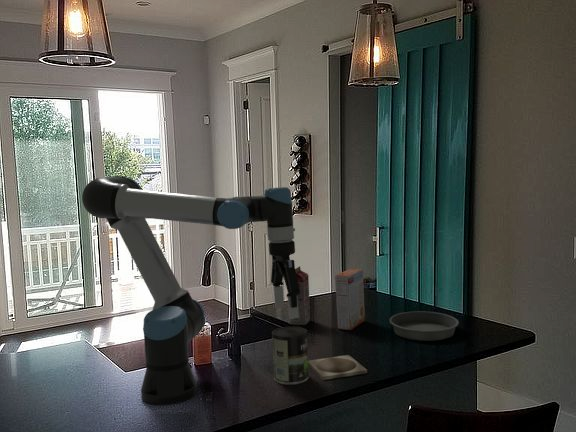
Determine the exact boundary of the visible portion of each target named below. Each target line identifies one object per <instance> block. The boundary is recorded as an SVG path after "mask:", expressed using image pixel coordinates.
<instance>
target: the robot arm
mask: <svg viewBox="0 0 576 432" xmlns="http://www.w3.org/2000/svg"><path fill="white" fill-rule="evenodd" d="M81 201H82V205H83V207H84V209H85V211H86V212H87V213H89V214H90V215H91V216H93V217H94V218H95V217H96V218H98V219H106V221H107V223H108V225H109V228H111V229H114V230H116V231H118V233H119V234H120V236H121V239H122V241H123V243H124V244H125V246H126V248H127V250H128V253H129V254H130V256H131V258H132V260H133V262H134V263H135V265H136V267H137V269H138V271H139V273H140V276H141V278H142V279H143V282H144V283H145V285H146V287H147V289H148V291H149V292H150V295H151V297H152V299H153V302H154V304H153V307H152V310H150V311H149V312H147V313H146V314H145V316H144V318H143V326H142V332H143V340H144V352H145V353H144V354H145V355H144V356H145V367H146V368H145V373H144V377H143V380H142V385H141V388H140V390H141V392H140V393H141V394H140V395H141V399H142V401H143V402H145V403H147V404H150V405H155V406H156V405H157V406H158V405H159V406H166V405H168V406H169V405H173V404H178V403H181V402H185V401H188V400H189V399H191V398H192V397H194V396H195V395H196V393H197V391H198V387H197V385H198V384H197V381H196V377H195V376H194V373H193V370H192V368H191V366H190V361H189V359H190V357H189V343H190V342H191V341H192V340H193V339H194V338H196V337H197V336H198V335H199V334H200V333H201V331H202V329H203V327H204V324H205V321H206V315H205V310H204V308H203V306H202V304H200V303H199V302H198V301H197V300H195V299H193V297H192V296H191V294H190V292H189V290H187V289H184V288H182V287H181V285H180V284H179V282H178V279H177V277H176V275H175V274H174V272H173V270H172V268H171V265H170V264H169V262H168V261H167V259H166V257H165V255H164V252H163V251H162V249H161V246H160V245H159V243H158V240H157V239H156V237H155V235H154V233H153V232H152V229H151V227H150V225H149V223H148V221H147V219H153V220H160V221H161V220H163V221H173V222H182V223H191V224H192V223H193V224H200V225H201V224H202V225H210V226H211V225H212V226H219V227H224V228H225V229H228V230H237V229H240V228H242V227H243V226H245V225H246V224H248V223H258V222H260V223H261V222H266V224H267V225H266V227H267V240H268V241H269V243H268V251H269V255H270V256H271V260H272V261H271V262H272V263H271V274H270V275H271V276H270V283H271V284H272V286H273V294H274V295H273V296H274V307H275V309H281V308H282V309H283V308H285V299H284V284H285V288H286V290H287V294H286V297H287V306H288V307H287V308H288V309H287V310H288V320H289V319H295V318H299V311H298V297H297V295H298V294H300V289H299V285H298V280H297V275H296V271H295V269H296V266H295V260H294V259H291V258H290V256H291V255H294V254H295V253H296V246H295V245H296V243H295V241H294V239H295V233H294V232H295V231H296V228H295V227H294V215H293V213H294V212H293V201H292V193H291V189H290V188H289V187H288V186H287V187H286V186H282V187H280V186H279V187H270V188H269V187H268V188H265V190H264V194H262V195H256V196H253V195H251V196H234V197H227V198H225V197H216V196H215V197H214V196H206V195H205V196H204V195H195V194H194V195H193V194H187V193H185V194H184V193H175V192H166V191H157V190H148V189H147V190H146V189H142V187H141V185H140V184H139V183H138V181H136V180H135V179H133V178H130V177H127V176H123V175H116V176H107V177H106V176H105V177H104V176H103V177H98V178H94V179H93V180H91V181H89V182H88V183H87V184H86V185H85V187H84V188H83V191H82V195H81ZM283 280H284V281H283Z"/></svg>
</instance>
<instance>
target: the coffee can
mask: <svg viewBox="0 0 576 432" xmlns="http://www.w3.org/2000/svg"><path fill="white" fill-rule="evenodd" d="M271 336H272V354H273V375H274V376H273V380H274V381H275V382H276V383H278V384H280V385H286V386H287V385H288V386H290V385H291V386H293V385H299V384H303V383H305V382H307V381H308V380H309V378H310V376H309V365H308V361H309V358H308V330H307V329H306V328H304V327H300V326H283V327H277V328H276V329H273V330H272V331H271Z"/></svg>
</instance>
